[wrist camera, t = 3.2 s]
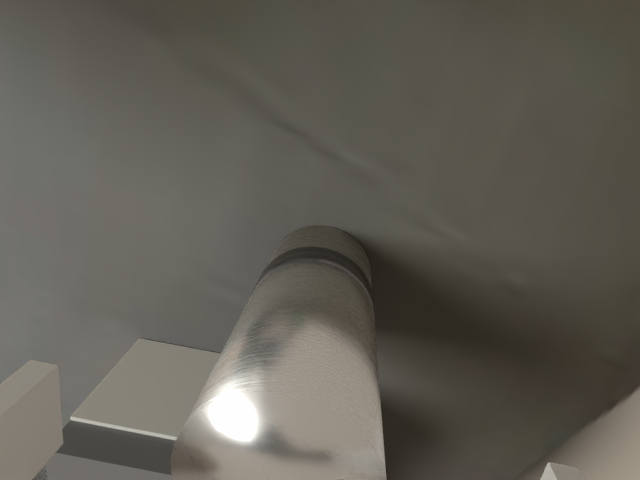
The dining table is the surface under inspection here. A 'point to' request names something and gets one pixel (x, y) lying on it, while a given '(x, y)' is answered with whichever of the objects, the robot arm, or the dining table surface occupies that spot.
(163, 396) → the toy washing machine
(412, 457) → the dining table surface
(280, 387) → the grey tall rounded cylinder
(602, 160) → the dining table surface
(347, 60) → the dining table surface
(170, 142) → the dining table surface
